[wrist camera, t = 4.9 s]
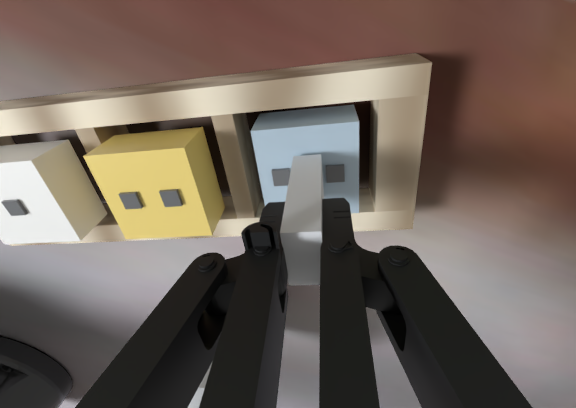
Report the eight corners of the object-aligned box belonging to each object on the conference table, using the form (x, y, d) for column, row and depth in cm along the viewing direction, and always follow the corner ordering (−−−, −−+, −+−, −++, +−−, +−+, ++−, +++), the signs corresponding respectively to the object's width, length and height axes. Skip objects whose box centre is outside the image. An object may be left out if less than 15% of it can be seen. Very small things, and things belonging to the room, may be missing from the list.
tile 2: (148, 211, 22) (124, 241, 19) (114, 135, 19) (80, 157, 16) (225, 207, 21) (211, 237, 18) (202, 126, 18) (182, 149, 15)
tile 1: (38, 217, 23) (1, 246, 20) (-10, 146, 20) (-61, 169, 17) (107, 213, 22) (78, 243, 20) (68, 139, 19) (28, 162, 17)
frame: (39, 222, 27) (10, 245, 24) (-41, 106, 21) (-88, 120, 19) (402, 203, 23) (412, 228, 20) (416, 53, 17) (432, 62, 15)
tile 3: (273, 192, 22) (266, 219, 19) (259, 113, 19) (249, 132, 16) (354, 187, 21) (359, 214, 18) (353, 104, 18) (359, 122, 15)
